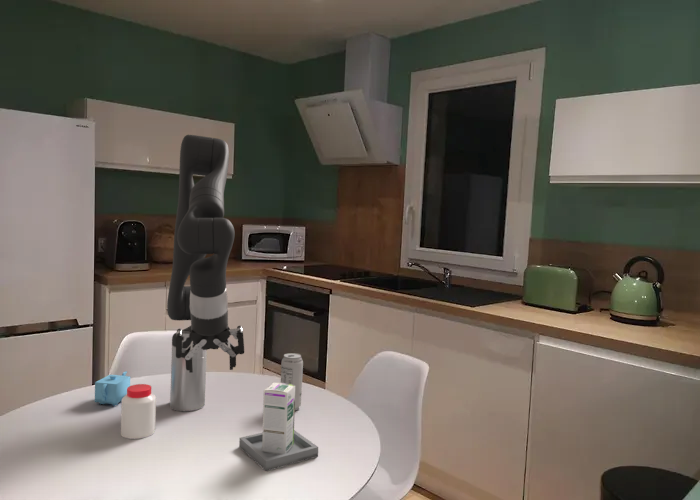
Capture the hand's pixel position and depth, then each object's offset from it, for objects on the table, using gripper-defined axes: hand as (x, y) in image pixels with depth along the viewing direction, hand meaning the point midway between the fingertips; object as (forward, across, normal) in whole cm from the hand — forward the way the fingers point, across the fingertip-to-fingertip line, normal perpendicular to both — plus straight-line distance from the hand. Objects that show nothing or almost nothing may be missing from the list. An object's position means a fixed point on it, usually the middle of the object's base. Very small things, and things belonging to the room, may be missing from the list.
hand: (211, 368), depth 115 cm
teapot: (+31, +28, -26) cm, 49 cm away
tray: (+19, -14, +8) cm, 25 cm away
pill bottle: (+23, +18, -6) cm, 30 cm away
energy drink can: (+29, -20, -16) cm, 39 cm away
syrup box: (+18, -14, +8) cm, 24 cm away
